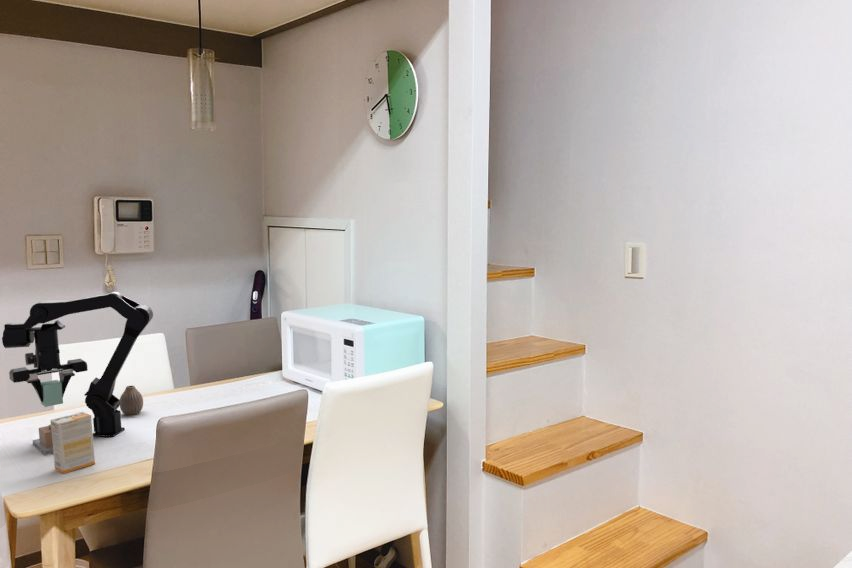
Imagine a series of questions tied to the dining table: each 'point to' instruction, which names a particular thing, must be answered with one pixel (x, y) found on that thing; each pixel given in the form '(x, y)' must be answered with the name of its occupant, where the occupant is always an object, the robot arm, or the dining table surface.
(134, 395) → the vase
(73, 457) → the supplement box
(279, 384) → the dining table surface
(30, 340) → the robot arm
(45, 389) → the block
